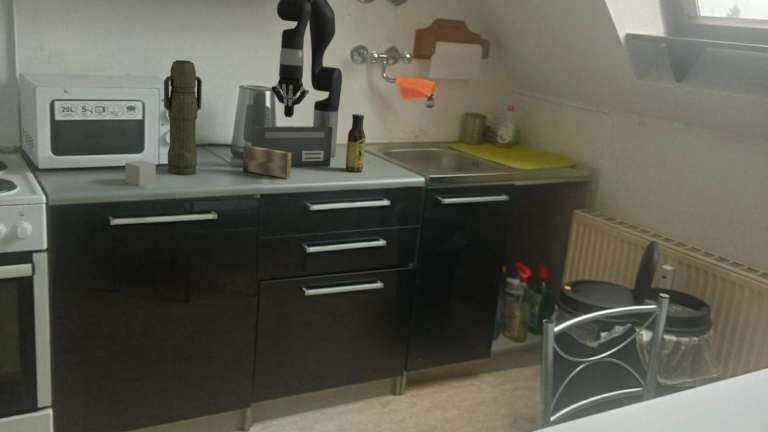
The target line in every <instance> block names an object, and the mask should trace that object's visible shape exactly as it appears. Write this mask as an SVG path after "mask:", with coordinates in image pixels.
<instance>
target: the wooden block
mask: <svg viewBox="0 0 768 432" xmlns="http://www.w3.org/2000/svg"><path fill="white" fill-rule="evenodd" d="M242 150H243V155H242V171H244V172H250V173H256V174H261V175H268V176H273V177H277V178H278V177H279V178H285V179H288V178H291V174H292V173H291V170H292V167H291V154H292V153H290V152H284V151H278V150H272V149H266V148H260V147H254V146H253V145H243V149H242Z"/></svg>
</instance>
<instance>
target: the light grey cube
mask: <svg viewBox="0 0 768 432" xmlns="http://www.w3.org/2000/svg"><path fill="white" fill-rule="evenodd" d="M156 165H157V164H156V163H154V162H150V161H147V160H141V159H139V160H135V161H128V162H125V165H124V166H125V183H127V184H131V185H134V186H138V187H142V186H147V185H152V184H156V179H157V178H156V169H157V168H156Z"/></svg>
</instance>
